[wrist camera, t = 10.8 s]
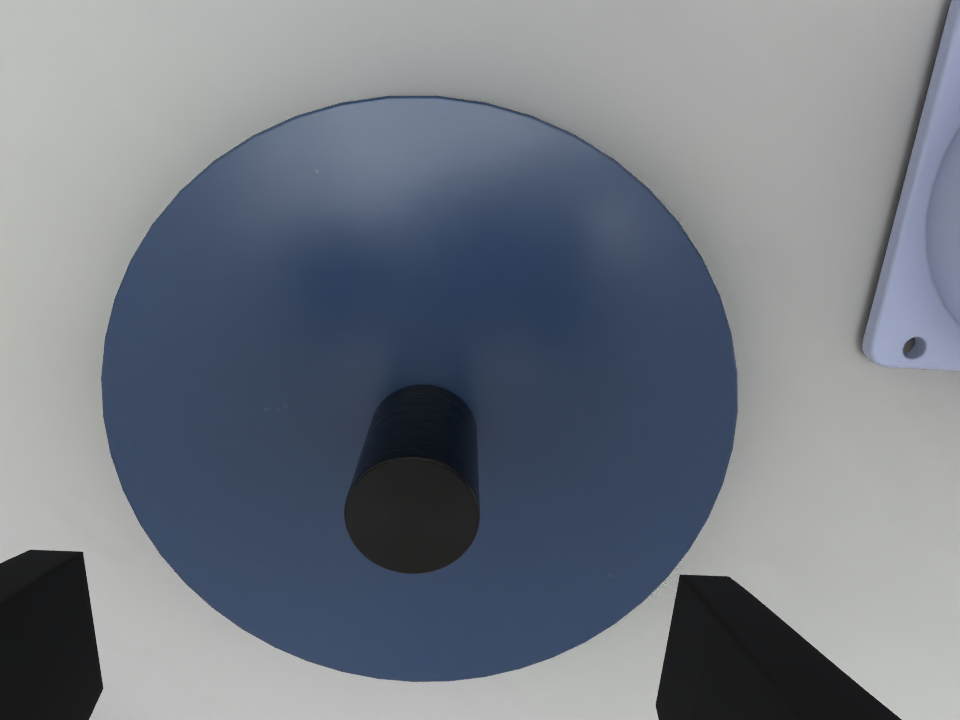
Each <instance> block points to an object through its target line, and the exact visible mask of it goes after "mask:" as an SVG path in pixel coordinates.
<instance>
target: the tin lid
mask: <svg viewBox="0 0 960 720" xmlns="http://www.w3.org/2000/svg"><path fill="white" fill-rule="evenodd" d="M101 381H102V400H103V417H104V422H105V428H106V433H107V438H108V443H109V448H110V453H111V457H112V459H113V462H114V465H115V468H116V471H117V474H118V477H119V480H120V483H121V485H122V488H123V491H124V493H125V495H126V497H127V499H128V501H129V503H130V505H131V507H132V509H133V511H134V513H135V515H136V517H137V519H138V521H139V523H140V525H141V526H142V528H143V529H144V531H145V532H146V534H147V535H148V537H149V538H150V540H151V541H152V543H153V544H154V545H155V547H156V548H157V550H158V551H159V553H160V554H161V556H162V557H163V558H164V559H165V560H166V561H167V563H168V564H169V565H170V566H171V567H172V568H173V570H174V571H175V572H176V573H177V574H178V575H179V576H180V578H181V579H182V580H183V581H184V582H185V583H186V584H187V585H188V586H189V587H190V588H191V589H192V590H193V591H195V592H196V593H197V594H198V595H199V596H200V597H201V598H202V599H203V600H205V601H206V602H207V603H208V604H209V605H210V606H211V607H212V608H214V609H215V610H216V611H218V612H219V613H221V614H222V615H223V616H225V617H226V618H228V619H229V620H230V621H232V622H233V623H235V624H236V625H237V626H239V627H240V628H241V629H243V630H245V631H247V632H248V633H250V634H252V635H254V636H256V637H257V638H259V639H261V640H263V641H264V642H266V643H268V644H270V645H272V646H273V647H275V648H278V649H280V650H282V651H285V652H287V653H290V654H292V655H294V656H297V657H299V658H301V659H304V660H306V661H309V662H312V663H315V664H318V665H322V666H325V667H328V668H332V669H335V670H338V671H341V672H346V673H351V674H356V675H362V676H367V677H372V678H377V679H388V680H399V681H411V682H430V681H455V680H463V679H472V678H480V677H486V676H491V675H495V674H500V673H504V672H508V671H513V670H517V669H521V668H524V667H527V666H529V665H532V664H535V663H538V662H541V661H544V660H547V659H550V658H553V657H555V656H557V655H559V654H561V653H563V652H565V651H568V650H570V649H572V648H574V647H576V646H578V645H580V644H582V643H584V642H586V641H588V640H589V639H591V638H593V637H594V636H596V635H598V634H599V633H601V632H602V631H604V630H606V629H607V628H609V627H611V626H612V625H614V624H615V623H617V622H618V621H619V620H620V619H622V618H623V617H624V616H625V615H627V614H628V613H629V612H631V611H632V610H633V609H634V608H636V607H637V606H638V605H639V604H641V603H642V602H643V601H644V600H645V599H646V598H647V597H648V596H649V595H650V594H651V593H652V592H653V591H654V590H655V589H656V588H657V587H658V586H659V585H660V584H661V583H662V582H663V581H664V580H665V579H666V578H667V577H668V576H669V575H670V573H671V572H672V571H673V570H674V568H675V567H676V566H677V565H678V563H679V562H680V561H681V559H682V558H683V557H684V556H685V554H686V553H687V552H688V550H689V549H690V548H691V546H692V544H693V543H694V541H695V539H696V538H697V536H698V534H699V532H700V531H701V529H702V527H703V526H704V524H705V522H706V521H707V519H708V517H709V515H710V513H711V510H712V508H713V506H714V503H715V501H716V499H717V496H718V494H719V492H720V489H721V487H722V485H723V481H724V478H725V474H726V470H727V467H728V463H729V460H730V456H731V452H732V449H733V441H734V434H735V426H736V419H737V411H738V406H737V368H736V361H735V355H734V348H733V341H732V335H731V331H730V328H729V324H728V321H727V318H726V315H725V311H724V308H723V305H722V301H721V298H720V295H719V293H718V291H717V289H716V286H715V284H714V282H713V280H712V278H711V276H710V274H709V272H708V269H707V267H706V265H705V263H704V261H703V259H702V257H701V255H700V254H699V252H698V251H697V249H696V248H695V246H694V245H693V243H692V242H691V240H690V239H689V237H688V236H687V234H686V233H685V231H684V230H683V228H682V227H681V225H680V224H679V222H678V221H677V220H676V219H675V218H674V216H673V215H672V214H671V213H670V212H669V211H668V210H667V209H666V207H665V206H664V205H663V204H662V203H661V202H660V201H659V200H658V198H657V197H656V196H655V195H654V194H653V193H652V192H651V191H650V190H649V189H648V188H647V187H646V186H645V185H644V184H643V183H641V182H640V181H639V180H638V179H637V178H635V177H634V176H633V175H632V174H631V173H629V172H628V171H627V170H626V169H625V168H624V167H622V166H621V165H620V164H619V163H618V162H616V161H615V160H614V159H612V158H611V157H609V156H608V155H606V154H604V153H603V152H601V151H600V150H598V149H596V148H595V147H593V146H592V145H590V144H588V143H587V142H585V141H584V140H582V139H580V138H579V137H577V136H576V135H574V134H571V133H569V132H567V131H565V130H562V129H560V128H558V127H556V126H553V125H551V124H549V123H547V122H544V121H542V120H540V119H538V118H535V117H533V116H530V115H527V114H523V113H520V112H517V111H513V110H510V109H506V108H503V107H499V106H496V105H492V104H489V103H484V102H477V101H470V100H463V99H456V98H449V97H442V96H385V97H378V98H371V99H364V100H357V101H350V102H343V103H339V104H336V105H332V106H329V107H325V108H322V109H318V110H315V111H312V112H308V113H305V114H301V115H298V116H295V117H293V118H291V119H288V120H286V121H284V122H282V123H280V124H277V125H275V126H273V127H271V128H269V129H266V130H264V131H262V132H260V133H258V134H255V135H253V136H252V137H250V138H249V139H247V140H246V141H244V142H242V143H241V144H239V145H238V146H236V147H235V148H233V149H232V150H230V151H229V152H227V153H225V154H224V155H222V156H221V157H219V158H218V159H216V160H215V161H213V162H212V163H211V164H210V165H209V166H208V167H207V168H206V169H204V170H203V171H202V172H201V173H200V174H199V175H198V176H196V177H195V178H194V179H193V180H192V181H191V182H190V183H189V184H187V185H186V186H185V187H184V188H183V189H182V190H181V191H180V192H179V193H178V194H177V196H176V197H175V198H174V199H173V200H172V202H171V203H170V204H169V205H168V206H167V207H166V209H165V210H164V211H163V212H162V213H161V215H160V216H159V217H158V218H157V219H156V221H155V222H154V223H153V224H152V226H151V228H150V229H149V231H148V233H147V234H146V236H145V238H144V239H143V241H142V243H141V244H140V246H139V247H138V249H137V251H136V252H135V254H134V256H133V257H132V259H131V261H130V263H129V266H128V268H127V271H126V273H125V275H124V278H123V280H122V283H121V285H120V287H119V290H118V292H117V295H116V297H115V300H114V304H113V308H112V312H111V316H110V320H109V324H108V329H107V333H106V337H105V345H104V355H103V366H102V377H101Z"/></svg>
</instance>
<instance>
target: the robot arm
mask: <svg viewBox="0 0 960 720" xmlns="http://www.w3.org/2000/svg"><path fill="white" fill-rule="evenodd" d="M914 337H915V344H914V346H913V348H912V349H911V350H910V351H908V352H907V353H903V347H904V345H905V343H906V342H907V341H908V340H909V339H911V338H914ZM863 352H864V354H865V356H866V357H867V358H868V359H869V360H871V361H872V362H874V363H876V364H878V365H880V366H884V367H895V368H913V369H931V370H949V371H960V0H952V1H951V3H950V7H949V11H948V15H947V19H946V23H945V27H944V30H943V34H942V38H941V42H940V46H939V50H938V54H937V57H936V61H935V65H934V69H933V73H932V77H931V81H930V84H929V88H928V92H927V96H926V100H925V104H924V108H923V111H922V115H921V119H920V123H919V127H918V131H917V135H916V138H915V142H914V146H913V150H912V154H911V158H910V162H909V165H908V169H907V173H906V177H905V181H904V185H903V189H902V192H901V196H900V200H899V204H898V208H897V212H896V216H895V219H894V223H893V227H892V231H891V235H890V239H889V243H888V246H887V250H886V254H885V258H884V262H883V266H882V270H881V273H880V277H879V281H878V285H877V289H876V293H875V297H874V300H873V304H872V308H871V312H870V316H869V320H868V324H867V327H866V331H865V335H864V339H863ZM102 690H103V684H102V677H101V670H100V664H99V657H98V650H97V644H96V637H95V630H94V624H93V617H92V610H91V604H90V597H89V590H88V584H87V577H86V570H85V564H84V557H83V552H73V551H47V550H29V551H27V552H25V553H22V554H20V555H18V556H16V557H13V558H11V559H9V560H7V561H5V562H3V563H1V564H0V720H89V718H90V716H91V714H92V712H93V710H94V707H95V705H96V703H97V701H98V699H99V697H100V694H101V692H102ZM656 709H657V713H658V718H659V720H901V719H900V718H899V717H898V716H896V715H895V714H894V713H893V712H891V711H890V710H889V709H888V708H887V707H885V706H884V705H883V704H882V703H880V702H879V701H878V700H877V699H875V698H874V697H873V696H872V695H871V694H869V693H868V692H867V691H866V690H865V689H863V688H862V687H861V686H860V685H859V684H857V683H856V682H855V681H854V680H852V679H851V678H850V677H849V676H848V675H846V674H845V673H844V672H843V671H842V670H840V669H839V668H838V667H837V666H836V665H835V664H833V663H832V662H831V661H830V660H829V659H827V658H826V657H825V656H824V655H823V654H821V653H820V652H819V651H818V650H817V649H816V648H814V647H813V646H812V645H811V644H810V643H808V642H807V641H806V640H805V639H804V638H803V637H801V636H800V635H799V634H798V633H797V632H796V631H794V630H793V629H792V628H791V627H790V626H788V625H787V624H786V623H785V622H784V621H783V620H781V619H780V618H779V617H778V616H777V615H776V614H774V613H773V612H772V611H771V610H770V609H768V608H767V607H766V606H765V605H764V604H762V603H761V602H760V601H759V600H758V599H756V598H755V597H754V596H753V595H752V594H750V593H749V592H748V591H747V590H745V589H744V588H743V587H742V586H740V585H739V584H738V583H736V582H735V581H734V580H733V579H731V578H730V577H726V576H700V575H680V577H679V583H678V588H677V593H676V599H675V604H674V609H673V615H672V620H671V626H670V631H669V636H668V642H667V647H666V653H665V658H664V663H663V669H662V674H661V679H660V685H659V690H658V696H657V701H656Z"/></svg>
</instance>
